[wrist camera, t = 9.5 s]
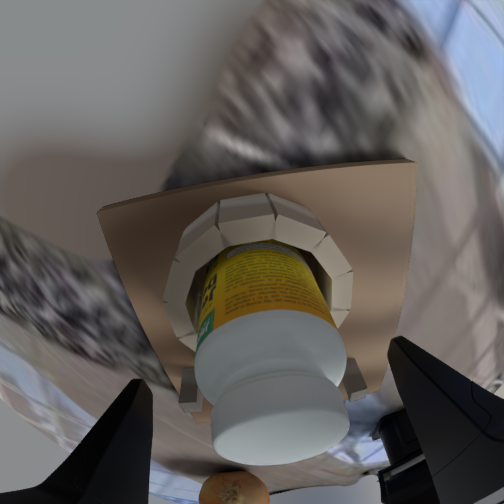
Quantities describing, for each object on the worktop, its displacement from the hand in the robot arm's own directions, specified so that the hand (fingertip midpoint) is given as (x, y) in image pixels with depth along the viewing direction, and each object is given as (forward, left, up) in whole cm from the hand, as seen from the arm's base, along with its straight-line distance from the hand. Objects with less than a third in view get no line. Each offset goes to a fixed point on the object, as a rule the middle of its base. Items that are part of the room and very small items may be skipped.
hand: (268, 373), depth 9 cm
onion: (-34, +8, -8) cm, 36 cm away
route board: (-5, -1, -8) cm, 9 cm away
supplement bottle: (0, 0, -7) cm, 7 cm away
